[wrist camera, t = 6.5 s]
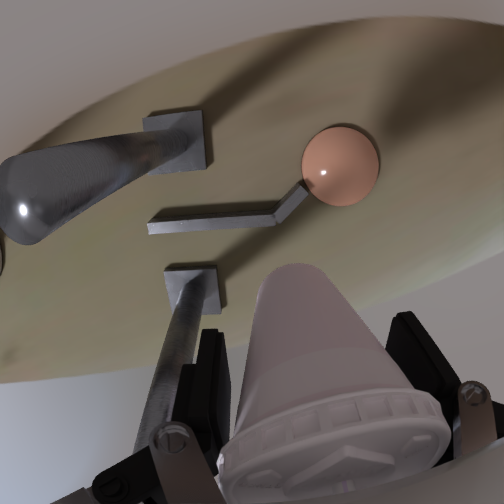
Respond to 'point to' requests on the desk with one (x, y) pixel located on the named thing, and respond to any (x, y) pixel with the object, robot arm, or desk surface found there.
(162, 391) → the post
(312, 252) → the desk surface
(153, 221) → the bent rail
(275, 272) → the smoothie
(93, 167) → the post
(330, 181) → the coaster
